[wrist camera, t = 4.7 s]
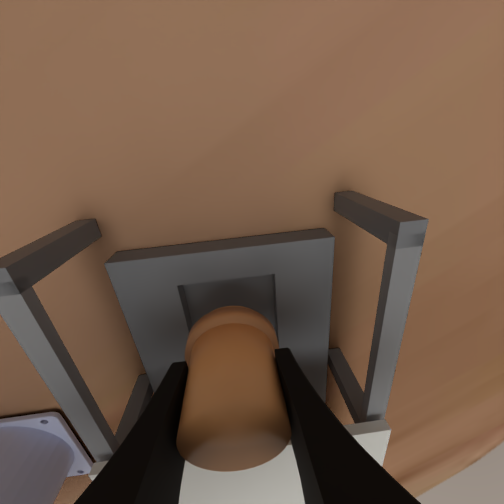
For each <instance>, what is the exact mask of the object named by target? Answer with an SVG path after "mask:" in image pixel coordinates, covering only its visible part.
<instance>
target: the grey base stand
mask: <svg viewBox="0 0 504 504" xmlns="http://www.w3.org/2000/svg"><path fill="white" fill-rule="evenodd" d="M334 211H336V212H337V213H339V214H340V215H342V216H344V217H345V218H347V219H348V220H350V221H352V222H353V223H355V224H356V225H358V226H359V227H361V228H363V229H364V230H366V231H367V232H369V233H371V234H372V235H374V236H375V237H377V238H379V239H380V240H382V241H383V242H385V243H387V249H386V256H385V262H384V269H383V275H382V282H381V288H380V294H379V301H378V307H377V314H376V320H375V326H374V333H373V339H372V346H371V352H370V359H369V365H368V371H367V378H366V384H365V391H364V392H363V391H362V389H361V387H360V385H359V383H358V381H357V379H356V378H355V376H354V374H353V372H352V370H351V368H350V367H349V365H348V363H347V361H346V359H345V357H344V355H343V354H342V352H341V350H340V348H335V349H328V347H329V330H330V312H331V295H332V277H333V260H334V242H335V237H334V236H333V235H332V234H331V233H330V232H329V231H327V230H326V229H325V228H320V229H312V230H303V231H294V232H285V233H277V234H268V235H259V236H251V237H242V238H233V239H224V240H216V241H207V242H198V243H189V244H181V245H172V246H163V247H154V248H146V249H137V250H128V251H120V252H116V253H115V254H114V255H113V256H112V257H111V258H110V259H109V260H108V261H106V262H105V263H104V265H105V267H106V270H107V273H108V275H109V278H110V280H111V283H112V285H113V288H114V291H115V293H116V296H117V298H118V301H119V304H120V306H121V309H122V311H123V314H124V316H125V319H126V322H127V324H128V327H129V329H130V332H131V335H132V337H133V340H134V342H135V345H136V347H137V350H138V353H139V355H140V358H141V360H142V363H143V366H144V368H145V371H146V373H147V374H144V375H139V376H138V378H137V381H136V384H135V386H134V389H133V391H132V394H131V396H130V399H129V401H128V404H127V406H126V409H125V411H124V414H123V417H122V419H121V422H120V424H119V427H118V429H117V432H116V434H115V436H114V434H113V433H112V431H111V429H110V427H109V425H108V424H107V422H106V420H105V418H104V416H103V414H102V413H101V411H100V409H99V407H98V405H97V404H96V402H95V400H94V398H93V396H92V395H91V393H90V391H89V389H88V387H87V385H86V384H85V382H84V380H83V378H82V376H81V375H80V373H79V371H78V369H77V367H76V365H75V364H74V362H73V360H72V358H71V356H70V355H69V353H68V351H67V349H66V347H65V346H64V344H63V342H62V340H61V338H60V336H59V335H58V333H57V331H56V329H55V327H54V326H53V324H52V322H51V320H50V318H49V317H48V315H47V313H46V311H45V309H44V307H43V306H42V304H41V302H40V300H39V298H38V297H37V295H36V293H35V291H34V289H33V287H32V286H33V285H34V284H35V283H37V282H38V281H40V280H41V279H42V278H44V277H45V276H47V275H48V274H49V273H51V272H52V271H54V270H55V269H56V268H58V267H59V266H61V265H62V264H63V263H65V262H66V261H68V260H69V259H70V258H72V257H73V256H75V255H76V254H77V253H79V252H80V251H82V250H83V249H85V248H86V247H87V246H89V245H90V244H92V243H93V242H94V241H96V240H97V239H99V238H100V237H101V233H100V231H99V228H98V225H97V223H96V220H95V219H88V220H79V221H74V222H72V223H70V224H68V225H66V226H64V227H62V228H60V229H58V230H56V231H54V232H52V233H50V234H48V235H46V236H44V237H42V238H40V239H38V240H36V241H34V242H32V243H30V244H28V245H26V246H24V247H22V248H20V249H18V250H15V251H13V252H11V253H9V254H7V255H5V256H3V257H1V258H0V314H1V316H2V318H3V319H4V321H5V322H6V324H7V325H8V327H9V328H10V330H11V331H12V333H13V334H14V336H15V338H16V339H17V341H18V342H19V344H20V345H21V347H22V348H23V350H24V351H25V353H26V354H27V356H28V357H29V359H30V361H31V362H32V364H33V365H34V367H35V368H36V370H37V371H38V373H39V374H40V376H41V377H42V379H43V380H44V382H45V384H46V385H47V387H48V388H49V390H50V391H51V393H52V394H53V396H54V397H55V399H56V400H57V402H58V403H59V405H60V407H61V408H62V410H63V411H64V413H65V414H66V416H67V417H68V419H69V420H70V422H71V423H72V425H73V426H74V428H75V430H76V431H77V433H78V434H79V436H80V437H81V439H82V440H83V442H84V443H85V445H86V446H87V448H88V449H89V451H90V453H91V454H92V456H93V457H94V459H95V460H96V462H103V461H109V460H110V458H111V457H112V456H113V454H114V453H115V452H116V450H117V449H118V448H119V446H120V445H121V443H122V442H123V441H124V439H125V438H126V436H127V435H128V433H129V432H130V430H131V429H132V427H133V426H134V425H135V423H136V422H137V420H138V419H139V417H140V416H141V414H142V413H143V411H144V409H145V408H146V406H147V405H148V403H149V401H150V400H151V397H152V394H153V391H154V393H155V392H156V390H157V388H158V386H159V385H160V383H161V381H162V380H163V378H164V376H165V374H166V372H167V371H168V369H169V367H170V365H171V364H172V363H174V362H182V361H185V348H186V344H187V339H188V335H189V332H190V330H191V328H192V327H193V325H194V324H195V323H196V322H197V321H198V320H199V319H200V318H201V317H203V316H204V315H206V314H208V313H209V312H211V311H213V310H215V309H218V308H221V307H225V306H243V307H247V308H250V309H252V310H254V311H256V312H258V313H260V314H262V315H263V316H265V317H266V318H267V319H268V320H269V321H270V322H271V324H272V325H273V327H274V330H275V332H276V336H277V340H278V344H279V349H280V348H287V347H288V348H289V349H290V350H291V352H292V354H293V356H294V358H295V359H296V361H297V363H298V365H299V366H300V368H301V370H302V371H303V373H304V374H305V376H306V377H307V379H308V380H309V382H310V383H311V385H312V386H313V388H314V389H315V390H316V392H317V393H318V395H319V396H320V397H321V399H322V400H323V401H324V403H325V400H326V382H327V365H329V367H330V369H331V372H332V374H333V376H334V378H335V380H336V383H337V385H338V387H339V389H340V392H341V394H342V396H343V398H344V400H345V403H346V405H347V407H348V409H349V412H350V414H351V416H352V418H353V420H354V423H355V424H356V423H363V422H370V421H376V420H383V419H384V417H385V413H386V408H387V404H388V399H389V395H390V390H391V386H392V381H393V377H394V372H395V368H396V363H397V359H398V354H399V350H400V345H401V341H402V336H403V332H404V328H405V323H406V319H407V314H408V310H409V305H410V301H411V296H412V292H413V287H414V283H415V278H416V274H417V269H418V265H419V260H420V256H421V251H422V247H423V242H424V238H425V233H426V229H427V224H428V220H429V219H427V218H424V217H421V216H419V215H416V214H413V213H411V212H408V211H405V210H403V209H400V208H397V207H395V206H392V205H389V204H386V203H384V202H381V201H378V200H376V199H373V198H370V197H368V196H365V195H362V194H360V193H357V192H354V191H346V192H337V193H335V197H334Z"/></svg>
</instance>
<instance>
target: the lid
mask: <svg viewBox="0 0 504 504" xmlns="http://www.w3.org/2000/svg"><path fill="white" fill-rule="evenodd" d="M343 426H344V427H345V428H346V429H347V431H348V432H349V433H350V434H351V435H352V436H353V437H354V438H355V439H356V441H357V442H358V443H359V444H360V445H361V446H362V447H363V448H364V449H365V450H366V451H367V452H368V453H369V454H370V455H371V456H372V457H373V458H374V459H375V460H376V461H377V462H378V463H379V464H380V465H381V466H382V465H383V461H384V457H385V453H386V449H387V445H388V441H389V437H390V433H391V428H390V427H389V425H388V423H387V421H386V420H385V419H383V420H376V421H370V422H363V423H356V424H350V425H343ZM107 462H108V461H103V462H96V463H94V464H93V466H92V468H91V471H90V473H89V475H88V476H89V477H90V479H91V480H92V481H93V480H94V479H95V477H96V476H97V475H98V474H99V472H100V471H101V470H102V469H103V467H104V466H105V465H106V463H107ZM179 504H305V501H304V495H303V490H302V485H301V480H300V475H299V471H298V467H297V462H296V459H295V455H294V451H293V448H292V444H291V440H290V441H289V443H288V445H287V446H286V448H285V449H284V450H283V451H282V452H281V453H280V454H279V455H278V456H276V457H275V458H273V459H272V460H270V461H268V462H266V463H264V464H262V465H259V466H257V467H254V468H250V469H246V470H240V471H230V472H220V471H211V470H206V469H202V468H199V467H197V466H195V465H193V464H191V463H189V462H188V461H186V460H185V465H184V471H183V476H182V482H181V489H180V496H179Z"/></svg>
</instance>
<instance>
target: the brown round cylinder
mask: <svg viewBox="0 0 504 504" xmlns="http://www.w3.org/2000/svg"><path fill="white" fill-rule="evenodd" d="M275 349H279V344H278V340H277V336H276V332H275V330H274V327H273V325H272V324H271V322H270V321H269V320H268V319H267V318H266V317H265V316H263V315H262V314H260V313H258V312H256V311H254V310H252V309H250V308H247V307H243V306H225V307H221V308H218V309H215V310H213V311H211V312H209V313H208V314H206V315H204V316H203V317H201V318H200V319H199V320H198V321H197V322H196V323H195V324H194V325H193V327H192V328H191V330H190V332H189V335H188V339H187V344H186V348H185V361H186V362H187V366H188V375H187V381H186V387H185V392H184V398H183V404H182V410H181V416H180V421H179V427H178V433H177V439H176V446H177V449H178V451H179V453H180V455H181V456H182V457H183V458H184V459H185V460H186V461H188V462H189V463H191V464H193V465H195V466H197V467H199V468H202V469H206V470H211V471H220V472H230V471H240V470H246V469H250V468H254V467H257V466H259V465H262V464H264V463H266V462H268V461H270V460H272V459H273V458H275V457H276V456H278V455H279V454H280V453H281V452H282V451H283V450H284V449H285V448H286V446H287V445H288V443H289V441H290V438H291V426H290V421H289V417H288V412H287V408H286V403H285V399H284V394H283V390H282V386H281V382H280V378H279V374H278V369H277V365H276V360H275Z"/></svg>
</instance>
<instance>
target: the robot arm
mask: <svg viewBox="0 0 504 504" xmlns="http://www.w3.org/2000/svg"><path fill="white" fill-rule="evenodd" d="M275 360H276V365H277V369H278V374H279V378H280V382H281V386H282V390H283V394H284V399H285V403H286V408H287V412H288V417H289V421H290V426H291V438H290V440H291V444H292V448H293V451H294V455H295V459H296V462H297V467H298V471H299V475H300V480H301V485H302V490H303V495H304V501H305V504H421V503H420V502H419V501H417V500H416V499H415V498H414V497H413V496H412V495H411V494H410V493H409V492H408V491H407V490H406V489H404V488H403V487H402V486H401V485H400V484H399V483H398V482H397V481H396V480H395V479H394V478H393V477H392V476H391V475H390V474H389V473H388V472H387V471H386V470H385V469H384V468H383V467H382V466H381V465H380V464H379V463H378V462H377V461H376V460H375V459H374V458H373V457H372V456H371V455H370V454H369V453H368V452H367V451H366V450H365V449H364V448H363V447H362V446H361V445H360V444H359V443H358V442H357V441H356V439H355V438H354V437H353V436H352V435H351V434H350V433H349V432H348V431H347V429H346V428H345V427H344V426H343V425H342V424H341V422H340V421H339V420H338V419H337V418H336V416H335V415H334V414H333V413H332V412H331V410H330V409H329V408H328V406H327V405H326V404H325V403H324V401H323V400H322V399H321V397H320V396H319V395H318V393H317V392H316V390H315V389H314V388H313V386H312V385H311V383H310V382H309V380H308V379H307V377H306V376H305V374H304V373H303V371H302V370H301V368H300V366H299V365H298V363H297V361H296V359H295V358H294V356H293V354H292V352H291V350H290V349H289V348H288V347H287V348H280V349H275ZM187 375H188V366H187V362H186V361H182V362H174V363H172V364H171V365H170V367H169V369H168V371H167V372H166V374H165V376H164V378H163V380H162V381H161V383H160V385H159V386H158V388H157V390H156V392H155V393H154V395H153V397H152V398H151V400H150V401H149V403H148V405H147V406H146V408H145V409H144V411H143V413H142V414H141V416H140V417H139V419H138V420H137V422H136V423H135V425H134V426H133V427H132V429H131V430H130V432H129V433H128V435H127V436H126V438H125V439H124V441H123V442H122V443H121V445H120V446H119V448H118V449H117V450H116V452H115V453H114V454H113V456H112V457H111V458H110V460H109V461H108V462H107V463H106V465H105V466H104V467H103V469H102V470H101V471H100V472H99V474H98V475H97V476H96V477H95V479H94V480H93V481H92V482H91V484H90V485H89V486H88V487H87V488H86V490H85V491H84V492H83V493H82V495H81V496H80V497H79V498H78V499H77V500H76V502H75V503H74V504H179V496H180V489H181V482H182V476H183V471H184V465H185V459H184V458H183V457H182V456H181V455H180V453H179V451H178V449H177V446H176V439H177V433H178V427H179V421H180V416H181V410H182V404H183V398H184V392H185V387H186V381H187ZM92 466H93V462H92V461H91V459H90V458H89V456H88V455H87V453H86V452H85V450H84V449H83V447H82V446H81V444H80V443H79V441H78V440H77V438H76V437H75V435H74V434H73V432H72V431H71V429H70V428H69V426H68V425H67V423H66V422H65V420H64V419H63V417H62V416H61V414H60V413H58V412H47V413H39V414H32V415H25V416H18V417H11V418H4V419H0V504H53V503H54V501H55V499H56V497H57V495H58V493H59V491H60V489H61V487H62V485H63V483H64V481H65V479H66V477H70V476H76V475H83V474H89V473H90V471H91V468H92Z"/></svg>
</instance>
